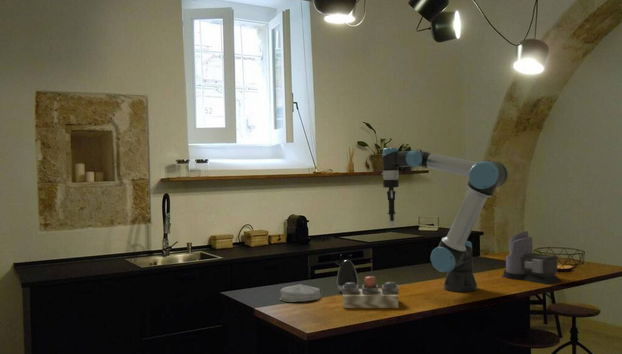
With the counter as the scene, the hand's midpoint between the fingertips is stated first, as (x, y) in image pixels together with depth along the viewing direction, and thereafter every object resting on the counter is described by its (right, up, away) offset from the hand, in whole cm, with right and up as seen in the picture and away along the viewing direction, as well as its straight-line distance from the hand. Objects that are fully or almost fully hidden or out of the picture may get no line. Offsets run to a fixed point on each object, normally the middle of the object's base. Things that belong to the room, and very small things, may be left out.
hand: (392, 227), depth 268 cm
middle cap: (-14, -22, -33) cm, 42 cm away
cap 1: (-23, -25, -32) cm, 47 cm away
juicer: (+72, -28, +13) cm, 78 cm away
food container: (-45, -31, -18) cm, 57 cm away
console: (-14, -30, -33) cm, 47 cm away
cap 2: (-6, -25, -34) cm, 42 cm away
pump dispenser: (-22, -30, -7) cm, 38 cm away
